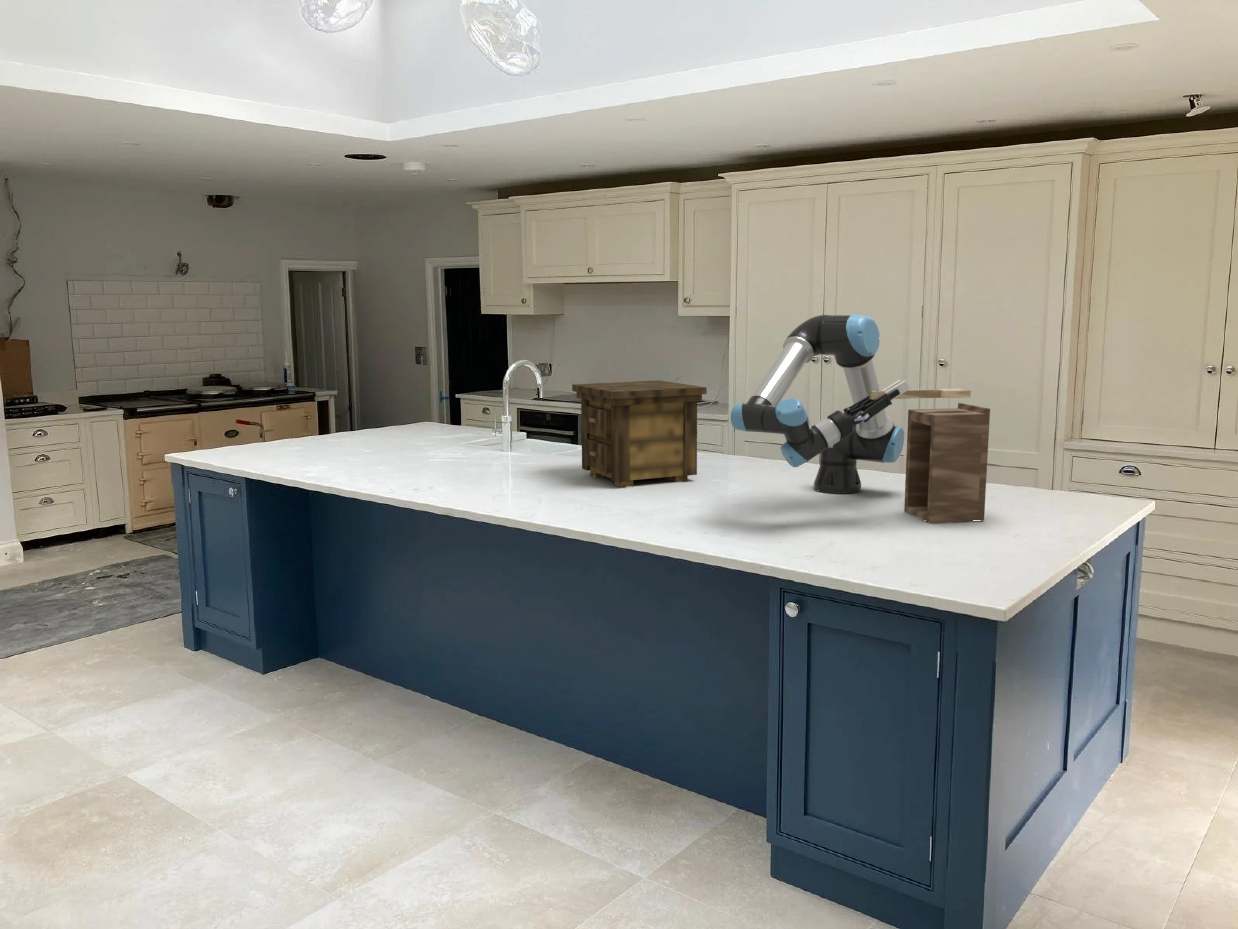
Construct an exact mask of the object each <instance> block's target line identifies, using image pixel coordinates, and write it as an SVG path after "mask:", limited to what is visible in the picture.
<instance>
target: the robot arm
mask: <svg viewBox="0 0 1238 929" xmlns="http://www.w3.org/2000/svg"><path fill="white" fill-rule="evenodd" d="M879 338H880V331H879V327H878V325H877V323H876V321H875V319H873V318H872V316H871V317H870V316H869V315H860V314H851V315H850V314H849V315H847V314H846V315H843V314H842V315H841V314H839V315H837V314H836V315H832V314H828V315H827V314H821V315H816V316H813V317H810V318H809V319H807V320H805V321H804V322H802V323H801V324H799V325H798V326H796V328H794V329H793V330H792V331H791V333H789V335H788V336H787V337H786V339H785V340H784V342H783V344H782V350H781V352H780V353H779V355H778V356H777V358H776V360H775V361H774V362H773V364H772V366H771V367H770V368H769V370H768V371H767V373H766V374H765V376H764V377H763V379H762V380H761V381H760V383H759V384H758V386H757V387H756V389H755V390H754V391H753V393H752V395H751V396H750V398H749V399H748V401H747V402H746V403H744V402H741V403H737V404H735V405H733V407H732V408H731V411H730V423H731V426H732V427H733V429H735V430H736V431H737V430H738V431H744V432H748V433H749V432H751V433H752V432H753V433H768V434H778V435H784V438H785V440H786V441H785V442H784V443H782V444H781V446H780V451H781V453H782V454H781V455H782V456H783V458H784V460H785V461H786V463H787V464H789V465H790V466H791V467H792V468H797V467H800V466H802V465H804V464H805V463H808V462H810V461H811V460H812V459H813V458H815V457H816V456H818V455H819V454H820V455H819V467H818V470H817V473H816V476H815V479H814V482H813V490H815V491H817V490H819V491H818V492H820V491H822V492H821V493H826V492H827V494H840V493H843V494H853V493H855V492H856V493H859V492H861V491H862V481H861V478H860V475H859V474H860V473H859V471H858V469H857V468H858V467H857V461H866V462H874V463H883V464H885V463H896V462H897V461H898V460H899V458H900V456H901V454H902V451H903V447H904V443H905V430H904V428H903V427H902V426H899V425H895V423H894V420H893V417H891V416H890V415H889V414H887V411H886V408H888V407H889V406H891V405H892V404H893V403H892V401H893V400H896V399H895V398H896V397H898V396H900V395H901V394H903V393H904V392H906V391H908V390H911V389H910V386H909V384H908V383H907V382H908V381H907V380H905V379H904V380H903V381H902V380H901V379H899V380H897V381H895V382H894V383H892V384H890V385H889V386H887V387H885V388H884V389H883V390H881V389H880V385H879V380H878V377H877V374H876V371H875V367H874V362H873V359H874V358H875V356H876V353H877V352H878V350H879V347H880V343H881V342H880V340H881V339H879ZM819 355H823V356H824V355H825V356H833V357H834V360H835V363H836V365H837V366H839V367H840V368H843V372H844V375H845V378H846V382H847V385H848V389H849V393H850V396H851V400H852V403H853V404H852V405H850V406H848V407H846V408H844V409H843V412H842V411H841V410H836V411H833V412H832V413H831V414H829V415H827V417H826V418H825V417H824V418H823V419H821V420H819V421H818V422H816V423H814V424H813V425H811V423H810V419H809V416H808V413H807V410H806V409H805V407H804V405H803V403H802V401H801V400H799V399H798V398H795V397H789V398H788V399H783V397H784V396H785V394H786V393H787V392H788V391H789V389H790V387H791V386H792V384H793V383H794V381H795V379H796V378H797V376H798V375H799V373H800V371H801V370H802V368H803V367H805V364H807V363H810V362H811V361H812V360H813V359H814V357H816V356H819ZM884 390H888V391H887V392H885V394H884V395H883V396H881V397H879V398H877V399H874V400H872V399H869V391H884ZM782 399H783V400H782ZM860 490H861V491H860ZM858 491H859V492H858Z"/></svg>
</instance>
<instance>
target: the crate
mask: <svg viewBox="0 0 1238 929" xmlns="http://www.w3.org/2000/svg"><path fill="white" fill-rule="evenodd" d="M571 389H572V392H574V393H576V398H577V399H580V421H581V422H580V424H581V426H580V427H581V429H580V430H581V431H580V432H581V469H582V470H584V471H590V476H591V477H593V476H595V477H594V478H602V477H601V476H606V477H605V478H609V479H611V481H613V482H614V485H615V486H616V487H619V486H620V487H619V488H624V487H623V486H629V487H634V481H637V480H639V481H640V480H647V479H660V478H668V477H669V480H670V479H671V480H673V481H672V482H674V481H675V482H676V483H679V482H678V481H681V482H687V481H686V480H689V479H688V477H689V476H697V475H698V402H702V401H703V395H707V390H708V389H707V386H702V385H701V386H700V385H692V384H688V383H687V384H686V383H679V382H674V381H673V382H672V381H666V380H665V381H664V380H644V381H642V380H640V381H639V380H638V381H619V382H618V381H617V382H599V383H598V382H597V383H578V384H577V383H574V384H571ZM671 480H670V481H671Z"/></svg>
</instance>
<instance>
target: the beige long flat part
mask: <svg viewBox="0 0 1238 929" xmlns="http://www.w3.org/2000/svg"><path fill="white" fill-rule="evenodd" d="M883 390H884V389H883ZM887 391H888V390H884V391H882V390H880V391H869V399H872V400H874V399H877V398H879V397H881V396H883V395H884V394H885V392H887ZM971 394H972V391H971V390H970V389H964V388H940V389H939V388H933V389H931V388H929V389H926V388H925V389H909V390H908V391H906V392H904V393H903V394H901V395H900V396H898V397H896V398H895V399H894V400H901V399H902V400H903V399H905V400H906V399H907V400H909V399H937V398H938V399H939V398H940V399H960V398H961V399H963V398H964V399H966V398H969V399H970V398H971Z"/></svg>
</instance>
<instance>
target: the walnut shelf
mask: <svg viewBox="0 0 1238 929" xmlns="http://www.w3.org/2000/svg"><path fill="white" fill-rule="evenodd" d="M990 418H991V408H988V407H983V406H979V405H974V404H973V405H972V404H967V403H963V402H958V403H957V407H955V408H954V407H952V408H951V407H950V408H921V409H920V408H917V409H915V408H914V409H908V412H907V435H906V455H905V456H906V459H905V460H906V462H905V481H904V482H905V484H904V485H905V486H904V505H903V507H904V510H903V511H905V512H904V513H906V512H907V513H906V514H908V513H910V514H912V515H914V516H913V517H915V516H916V517H915V518H917V517H919V518H921V519H922V520H921V519H920V520H921V521H923V520H926V521H927V522H926V521H925V522H926V523H928V522H929V523H928V524H930V523H935V524H946V523H945V522H956V523H962V522H961V521H973V520H984V521H985V508H986V493H987V492H986V491H987V475H988V473H987V471H988V458H989V457H988V455H989V453H988V452H989V440H990V439H989V436H990V422H991V421H990ZM910 514H909V515H910ZM912 515H911V516H912ZM919 518H918V519H919ZM943 522H944V523H943Z"/></svg>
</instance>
